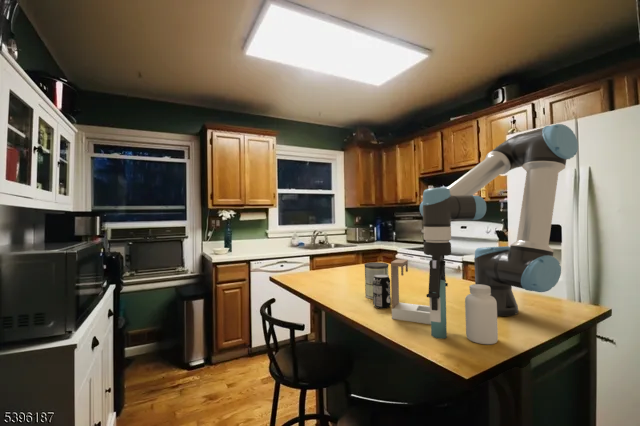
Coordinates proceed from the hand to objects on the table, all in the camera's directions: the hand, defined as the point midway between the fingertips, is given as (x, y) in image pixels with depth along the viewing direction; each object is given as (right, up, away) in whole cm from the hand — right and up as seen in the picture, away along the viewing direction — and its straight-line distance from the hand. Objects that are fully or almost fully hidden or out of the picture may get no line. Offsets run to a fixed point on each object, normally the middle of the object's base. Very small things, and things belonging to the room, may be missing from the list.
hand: (438, 314), depth 88 cm
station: (-2, -6, +15) cm, 17 cm away
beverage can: (-11, -7, +29) cm, 31 cm away
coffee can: (-10, -7, +43) cm, 45 cm away
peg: (0, -6, 0) cm, 6 cm away
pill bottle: (+11, -6, -3) cm, 13 cm away
